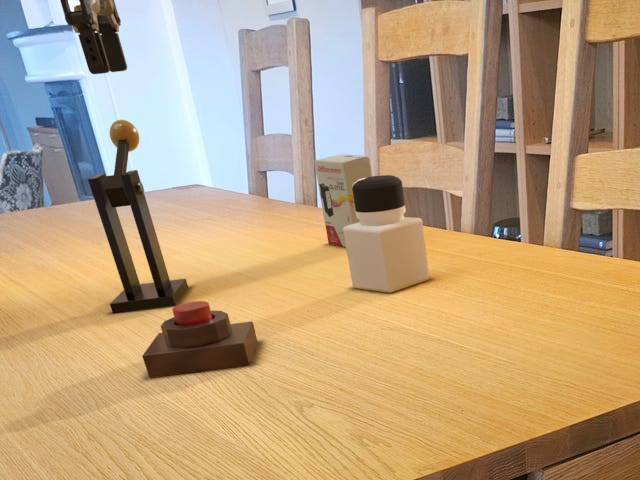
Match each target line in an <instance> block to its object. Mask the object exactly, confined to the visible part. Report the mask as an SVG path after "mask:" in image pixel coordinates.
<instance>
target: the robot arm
mask: <svg viewBox="0 0 640 480" xmlns="http://www.w3.org/2000/svg"><path fill="white" fill-rule="evenodd" d="M59 1H60V4H61V7H62V11H63V15H64V20H65V22H66V23H67V25H68V26H69V27H71V28H72V30H73V32H74V33H75V34H78V39H79V42H80V46H81V49H82V52H83V55H84V58H85V62H86V65H87V69H88V72H89V73H90V74H92V75H101V74H108V73H109V72H111V73H118V72H125V71H127V69H128V64H127V59H126V57H125V54H124V50H123V47H122V43H121V39H120V36H119V33H120V26H121V25H122V22H121V18H120V16H119V13H118V9H117V5H116V2H115V0H59Z"/></svg>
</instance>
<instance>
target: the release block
mask: <svg viewBox="0 0 640 480" xmlns="http://www.w3.org/2000/svg"><path fill="white" fill-rule="evenodd" d="M210 310H211V309H210ZM211 314H212V317H213V319H212V320H210V321H208V322H205V323H201V324H196V325H189V326H177V324H176V321H175V317H174V316H173V317H170V318H168V319H166V320H164V321H163V322H162V323H161V325H160V330H161V332H158V333H157V335H155V337H154V339H153V340H152V342H151V343H150V344H149V346H148V347H147V348H146V350H145V351H144V353H142V355H141V356H142V360H143V362H144V366H145V369H146V372H147V375H148V378H150V379H151V378H157V377H165V376H173V375H181V374H191V373H196V372H204V371H213V370H220V369H228V368H236V367H243V366H249V365H250V364H251V361H252V359H253V356H254V353H255V350H256V347H257V344H258V338H257V337H258V336H257V333H256V330H255V325H254V321H251V320H250V321H244V322H235V323H231V321H230V317H229V313H227V312H225V311H223V310H211Z"/></svg>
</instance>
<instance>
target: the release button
mask: <svg viewBox="0 0 640 480" xmlns="http://www.w3.org/2000/svg"><path fill="white" fill-rule="evenodd" d="M171 311H172V314H173V317H175V321H176V324H177V326H189V325H196V324H201V323H205V322H208V321H210V320H212V319H213V317H212V314H211V307H210V303H209V302H208V301H205V300H195V301H189V302H184V303H180V304H176V305H175V306H173V307H172V310H171Z"/></svg>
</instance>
